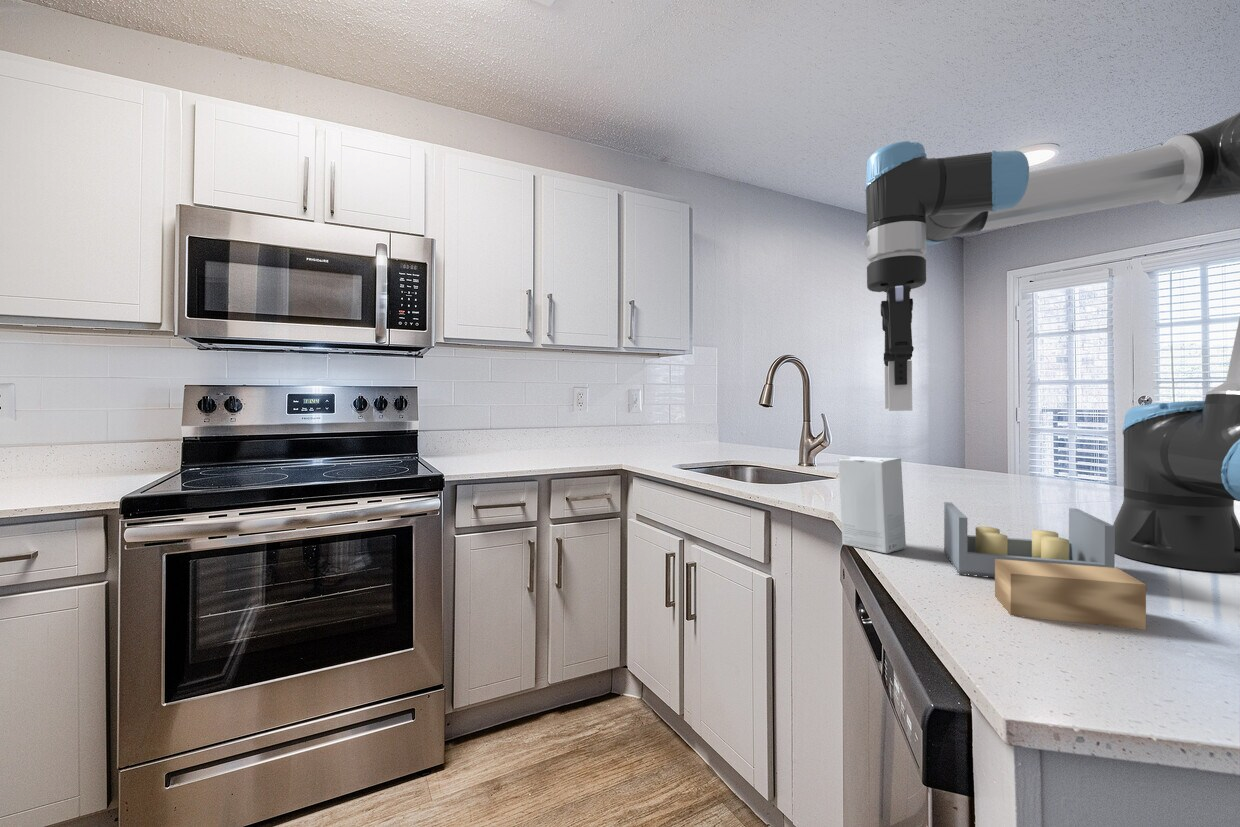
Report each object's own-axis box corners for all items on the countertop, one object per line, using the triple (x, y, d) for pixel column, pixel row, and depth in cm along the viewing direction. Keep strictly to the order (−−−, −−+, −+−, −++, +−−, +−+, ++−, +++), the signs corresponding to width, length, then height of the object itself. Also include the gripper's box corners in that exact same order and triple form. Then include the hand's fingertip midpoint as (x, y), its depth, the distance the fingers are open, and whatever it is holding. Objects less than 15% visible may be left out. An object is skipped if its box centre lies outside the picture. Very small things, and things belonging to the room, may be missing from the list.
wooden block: (1117, 611, 63) (1117, 568, 63) (1145, 631, 58) (1146, 584, 58) (994, 599, 67) (994, 558, 67) (1010, 617, 62) (1010, 573, 62)
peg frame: (1077, 562, 81) (1077, 508, 80) (1114, 589, 70) (1114, 526, 69) (944, 552, 87) (944, 502, 87) (959, 574, 76) (959, 517, 76)
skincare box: (906, 549, 89) (906, 458, 89) (885, 555, 86) (885, 460, 86) (859, 538, 96) (858, 454, 96) (838, 544, 93) (837, 456, 93)
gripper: (866, 279, 91) (867, 408, 91) (867, 240, 68) (869, 412, 68) (917, 274, 88) (918, 407, 88) (937, 232, 65) (938, 411, 65)
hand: (897, 409), depth 78 cm, fingers open, 13 cm apart
